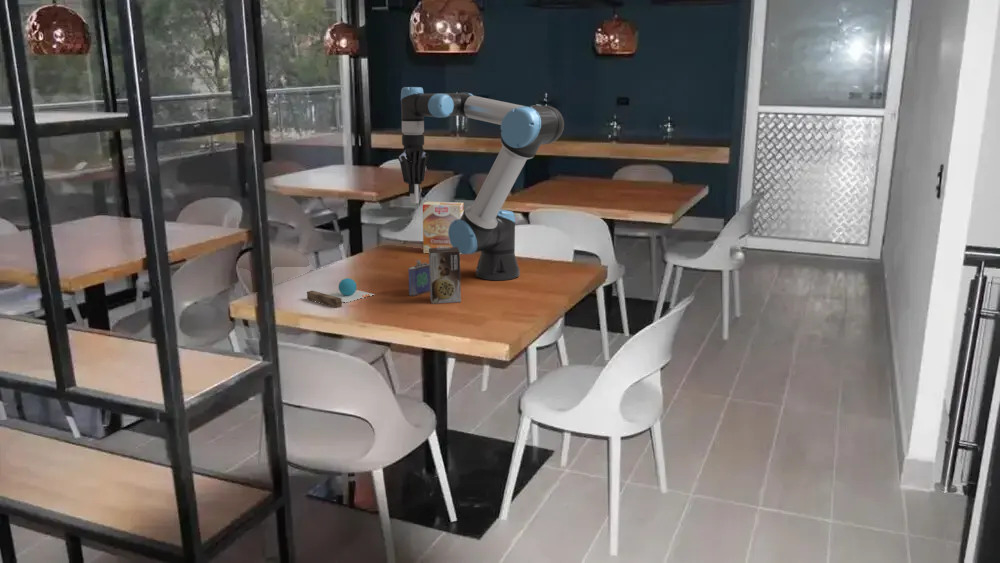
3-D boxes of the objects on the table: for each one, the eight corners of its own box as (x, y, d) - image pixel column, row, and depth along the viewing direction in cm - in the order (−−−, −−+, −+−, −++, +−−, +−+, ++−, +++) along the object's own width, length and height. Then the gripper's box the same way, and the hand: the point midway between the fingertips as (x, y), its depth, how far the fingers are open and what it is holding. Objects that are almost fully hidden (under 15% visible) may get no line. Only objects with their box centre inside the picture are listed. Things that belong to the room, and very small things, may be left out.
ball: (357, 298, 256) (361, 281, 256) (344, 295, 251) (349, 278, 252) (346, 295, 259) (350, 278, 259) (333, 292, 255) (337, 275, 255)
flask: (412, 296, 255) (411, 263, 252) (406, 295, 257) (405, 262, 254) (433, 291, 262) (432, 258, 259) (426, 289, 263) (426, 257, 261)
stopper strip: (341, 306, 244) (341, 298, 243) (336, 307, 242) (336, 299, 242) (312, 298, 253) (312, 290, 252) (307, 299, 251) (306, 291, 250)
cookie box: (458, 297, 255) (458, 246, 251) (461, 302, 249) (460, 251, 245) (429, 298, 253) (428, 247, 249) (431, 303, 247) (430, 252, 243)
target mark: (374, 295, 256) (374, 294, 256) (345, 303, 247) (345, 302, 247) (349, 288, 264) (349, 288, 264) (320, 296, 255) (320, 295, 255)
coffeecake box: (423, 253, 315) (422, 203, 310) (426, 249, 322) (425, 201, 317) (461, 254, 314) (460, 204, 309) (464, 251, 320) (463, 201, 316)
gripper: (418, 132, 283) (420, 199, 289) (391, 134, 273) (393, 203, 279) (434, 133, 278) (435, 201, 284) (406, 135, 268) (408, 206, 274)
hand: (414, 202), depth 281 cm, fingers closed
